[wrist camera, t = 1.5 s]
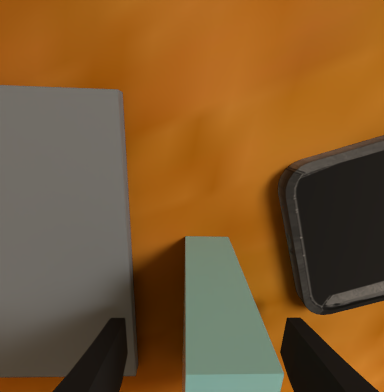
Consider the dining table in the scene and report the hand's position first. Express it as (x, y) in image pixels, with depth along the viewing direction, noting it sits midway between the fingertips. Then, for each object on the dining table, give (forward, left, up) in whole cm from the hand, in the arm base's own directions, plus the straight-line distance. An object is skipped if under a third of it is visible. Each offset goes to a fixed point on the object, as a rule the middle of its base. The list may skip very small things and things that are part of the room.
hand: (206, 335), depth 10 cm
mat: (+3, +10, -2) cm, 10 cm away
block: (0, 0, -2) cm, 2 cm away
